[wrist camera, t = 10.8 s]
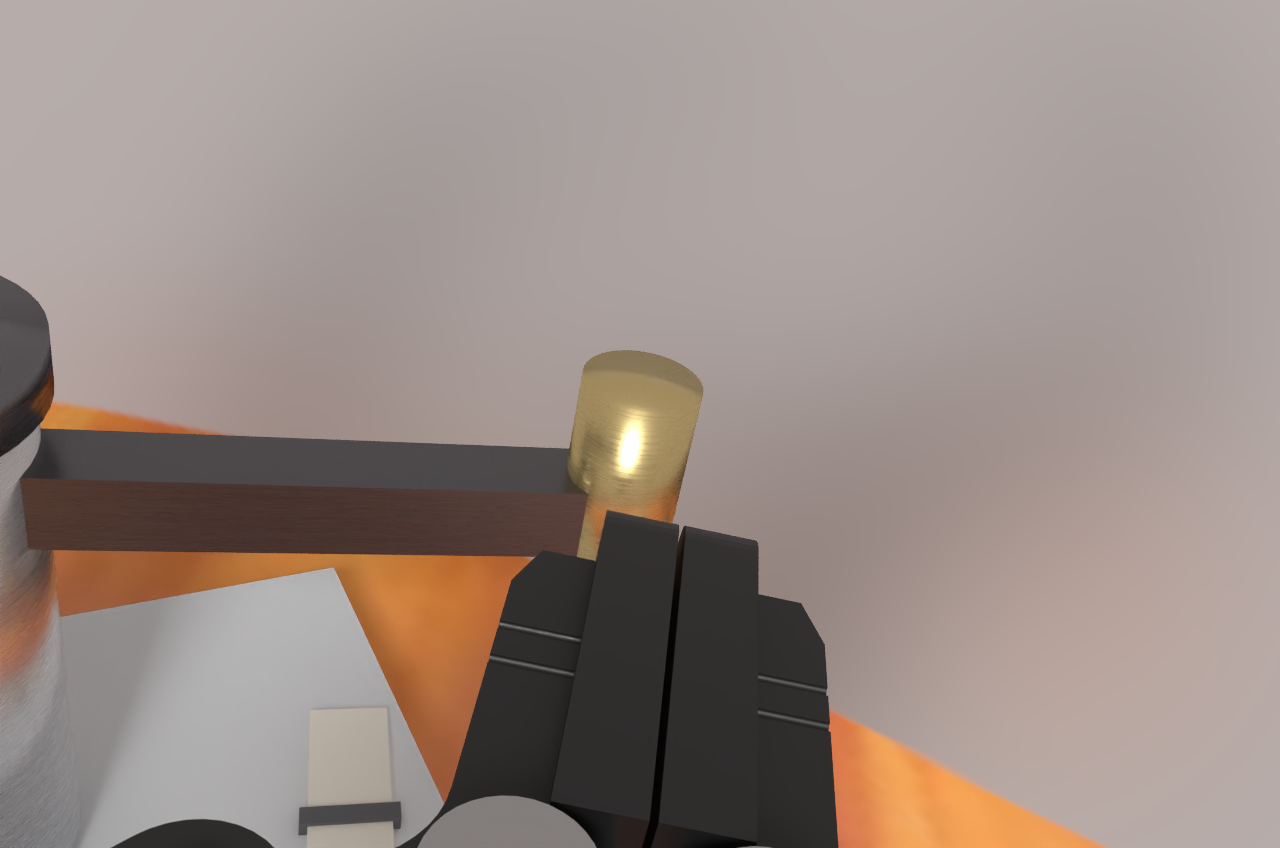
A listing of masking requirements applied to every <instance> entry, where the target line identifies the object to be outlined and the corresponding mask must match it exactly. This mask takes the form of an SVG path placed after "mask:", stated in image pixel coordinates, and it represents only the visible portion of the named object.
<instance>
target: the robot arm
mask: <svg viewBox="0 0 1280 848" xmlns="http://www.w3.org/2000/svg"><path fill="white" fill-rule="evenodd" d="M678 536H679V525H677V524H672V523H667V522H663V521H658V520H653V519H648V518H644V517H639V516H634V515H629V514H624V513H620V512H615V511H610V510H607V512H606V516H605V520H604V525H603V529H602V534H601V539H600V543H599V548H598V552H597V557H596V561H594V560H589V559H585V558H580V557H575V556H570V555H565V554H561V553H556V552H551V551H546V550H542V551H541V552H540V553H539V554H538V555H537V556H536V557H535V558H534V559H533V560H532V561H531V562H530V563H529V564H528V565H527V566H526V567H525V568H524V569H523V570H521V571H520V572H519V573H518V574H517V575H516V576H515V577H514V578H513V579H512V580H511V584H510V587H509V591H508V594H507V598H506V601H505V605H504V608H503V611H502V615H501V618H500V623H499V627H498V629H497V632H496V636H495V639H494V643H493V646H492V649H491V653H490V658H489V662H488V663H487V667H486V670H485V674H484V677H483V681H482V684H481V687H480V691H479V694H478V698H477V701H476V705H475V708H474V712H473V715H472V718H471V722H470V725H469V729H468V732H467V736H466V739H465V743H464V746H463V750H462V753H461V756H460V760H459V763H458V767H457V770H456V774H455V777H454V781H453V784H452V787H451V790H450V792H449V795H448V798H447V800H446V802H445V804H444V805H443V807H442V808H441V810H440V812H439V813H438V814H437V816H436V817H435V818H434V819H433V820H432V821H431V822H430V824H429V825H428V826H427V827H425V828H424V829H423V830H422V831H421V832H420V833H418V834H417V835H416V836H415V837H413V838H411V839H410V840H408V841H407V842H405V843H403V844H402V845H400V846H398V847H396V848H838V836H837V821H836V806H835V791H834V777H833V762H832V747H831V732H829V731H828V729H829V724H830V718H829V703H828V696H826V691H827V673H826V659H825V644H824V643H823V641H822V639H821V637H820V636H819V634H818V632H817V631H816V629H815V627H814V625H813V623H812V622H811V620H810V618H809V617H808V615H807V613H806V611H805V610H804V608H803V606H802V604H801V603H797V602H793V601H787V600H783V599H778V598H773V597H769V596H764V595H759V594H758V543H757V541H755V540H750V539H745V538H740V537H736V536H731V535H726V534H721V533H717V532H711V531H707V530H702V529H698V528H693V527H687V526H684V528H683V530H682V533H681V536H680V539H679V542H678ZM111 848H274V847H273V846H272V845H271V844H270V843H269V842H268V841H267V840H266V839H264V838H263V837H261V836H260V835H258V834H257V833H255V832H254V831H252V830H249V829H247V828H245V827H242V826H240V825H237V824H233V823H229V822H225V821H221V820H210V819H190V820H181V821H175V822H170V823H165V824H162V825H159V826H156V827H153V828H149V829H147V830H145V831H143V832H141V833H138V834H136V835H134V836H132V837H130V838H128V839H126V840H124V841H122V842H121V843H119V844H117V845H115V846H113V847H111Z"/></svg>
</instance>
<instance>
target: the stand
mask: <svg viewBox="0 0 1280 848" xmlns="http://www.w3.org/2000/svg"><path fill="white" fill-rule="evenodd" d="M61 623H62V633H63V642H64V651H65V661H66V670H67V679H68V689H69V698H70V707H71V717H72V726H73V735H74V745H75V754H76V763H77V773H78V782H79V791H80V801H81V822H80V828H79V833H78V836H77V839H76V842H75V845H74V848H111V847H113V846H115V845H117V844H119V843H121V842H122V841H124V840H126V839H128V838H130V837H132V836H134V835H136V834H138V833H141V832H143V831H145V830H147V829H149V828H153V827H156V826H159V825H162V824H165V823H170V822H175V821H181V820H190V819H210V820H221V821H225V822H229V823H233V824H237V825H240V826H242V827H245V828H247V829H249V830H252V831H254V832H255V833H257V834H258V835H260V836H261V837H263V838H264V839H266V840H267V841H268V842H269V843H270V844H271V845H272V846H273V847H274V848H396V847H398V846H400V845H402V844H403V843H405V842H407V841H408V840H410V839H411V838H413V837H415V836H416V835H417V834H418V833H420V832H421V831H422V830H423V829H424V828H425V827H427V826H428V825H429V824H430V822H431V821H432V820H433V819H434V818H435V817H436V816H437V814H438V813H439V812H440V810H441V808H442V807H443V805H444V802H443V800H442V798H441V796H440V793H439V791H438V789H437V787H436V785H435V783H434V781H433V778H432V776H431V774H430V772H429V770H428V768H427V766H426V763H425V761H424V759H423V757H422V755H421V753H420V751H419V749H418V746H417V744H416V742H415V740H414V738H413V736H412V734H411V731H410V729H409V727H408V725H407V723H406V721H405V719H404V716H403V714H402V712H401V710H400V708H399V706H398V704H397V702H396V699H395V697H394V695H393V693H392V691H391V689H390V687H389V684H388V682H387V680H386V678H385V676H384V674H383V672H382V669H381V667H380V665H379V663H378V661H377V659H376V657H375V655H374V652H373V650H372V648H371V646H370V644H369V642H368V640H367V637H366V635H365V633H364V631H363V629H362V627H361V625H360V622H359V620H358V618H357V616H356V614H355V612H354V610H353V608H352V605H351V603H350V601H349V599H348V597H347V595H346V593H345V590H344V588H343V586H342V584H341V582H340V580H339V578H338V575H337V573H336V571H335V569H334V567H333V568H327V569H322V570H316V571H311V572H305V573H300V574H294V575H288V576H283V577H277V578H272V579H266V580H261V581H255V582H250V583H244V584H239V585H233V586H228V587H222V588H217V589H211V590H206V591H200V592H195V593H189V594H184V595H178V596H173V597H167V598H162V599H156V600H151V601H145V602H140V603H134V604H129V605H123V606H118V607H112V608H107V609H101V610H96V611H90V612H85V613H79V614H74V615H68V616H63V617H61Z"/></svg>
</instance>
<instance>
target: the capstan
mask: <svg viewBox="0 0 1280 848" xmlns="http://www.w3.org/2000/svg"><path fill="white" fill-rule="evenodd" d="M53 396H54V376H53V366H52V356H51V345H50V335H49V326H48V321H47V318H46V315H45V312H44V310H43V309H42V307H41V306H40V304H39V303H38V302H37V301H36V300H35V299H34V298H33V297H32V296H31V295H30V294H29V293H28V292H27V291H25V290H24V289H22V288H21V287H20V286H18V285H17V284H15V283H13V282H11V281H9V280H7V279H5V278H3V277H2V276H0V848H74V845H75V842H76V839H77V836H78V833H79V828H80V822H81V801H80V791H79V782H78V773H77V763H76V754H75V745H74V735H73V726H72V717H71V707H70V698H69V689H68V679H67V670H66V661H65V651H64V642H63V633H62V623H61V614H60V605H59V596H58V586H57V577H56V568H55V558H54V550H91V551H163V552H236V553H309V554H381V555H454V556H527V557H536V556H537V555H538V554H539V553H540V552H541V551H542V550H546V551H551V552H556V553H561V554H565V555H570V556H575V557H580V558H585V559H589V560H594V561H596V557H597V552H598V548H599V543H600V539H601V534H602V529H603V525H604V520H605V516H606V512H607V510H610V511H615V512H620V513H624V514H629V515H634V516H639V517H644V518H648V519H653V520H658V521H663V522H667V523H672V522H673V518H674V514H675V510H676V506H677V502H678V498H679V493H680V489H681V485H682V481H683V477H684V472H685V468H686V464H687V459H688V455H689V451H690V447H691V443H692V439H693V434H694V430H695V426H696V422H697V418H698V413H699V409H700V405H701V401H702V396H703V386H702V384H701V382H700V380H699V379H698V378H697V376H696V375H695V374H694V373H693V372H691V371H690V370H689V369H687V368H686V367H684V366H683V365H681V364H679V363H677V362H675V361H673V360H670V359H668V358H665V357H662V356H659V355H656V354H651V353H647V352H640V351H628V350H627V351H625V350H622V351H611V352H606V353H602V354H599V355H597V356H595V357H593V358H591V359H590V360H589V361H588V362H587V363H586V364H585V366H584V369H583V373H582V379H581V385H580V390H579V396H578V402H577V408H576V414H575V419H574V425H573V431H572V437H571V442H570V448H569V449H561V448H534V447H507V446H483V445H456V444H431V443H429V444H428V443H405V442H403V443H402V442H379V441H378V442H376V441H350V440H326V439H300V438H299V439H298V438H273V437H272V438H271V437H248V436H222V435H196V434H170V433H144V432H118V431H92V430H66V429H41V428H40V423H41V422H42V421H43V419H44V417H45V416H46V414H47V412H48V410H49V408H50V407H51V403H52V400H53Z"/></svg>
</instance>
